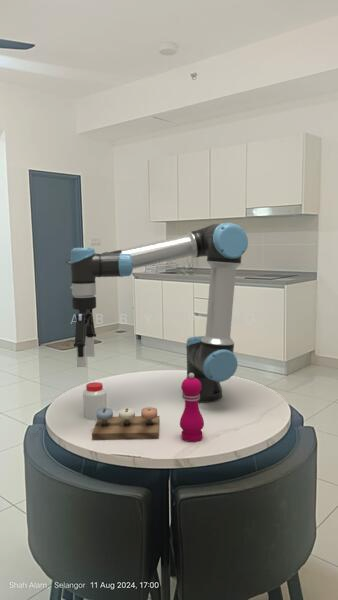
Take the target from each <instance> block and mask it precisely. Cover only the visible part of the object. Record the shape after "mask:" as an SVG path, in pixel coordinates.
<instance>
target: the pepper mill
mask: <svg viewBox="0 0 338 600" xmlns="http://www.w3.org/2000/svg"><path fill="white" fill-rule="evenodd" d="M188 377H189V378H187V377H186V378H184V380H183V381H182V382H181V391H182V397H183V396H184V397H183V398H182V399H183V400H184V409H183V412H182V414H181V417H180V420H179V427H180V429H182V431H181V439H182V440H183V441H186V442H193V443H194V442H198V441H201V440H202V439H203V431H202V429H203V428H205V427H204V426H205V423H204V417H203V415H202V413H201V411H200V409H199V407H200V406H199V402H198V401H199V399H200V394H199V392H200V391H201V388H202V385H201V382H200V381H199V380H198V379H196V378H194V374H193V373H189V375H188ZM183 392H184V394H183Z"/></svg>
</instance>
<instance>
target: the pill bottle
mask: <svg viewBox="0 0 338 600" xmlns="http://www.w3.org/2000/svg"><path fill="white" fill-rule="evenodd" d="M85 387H86V388H85V390H84V391H83V392H82V401H83V418H84V419H86V420H90V421H97V415H96V411H97V410H98V409H102V408H108V406H107V391H106V389H105V388H103V387H104V386H103V383H101V382H95V381H94V382H90V383H87V384H86V386H85Z"/></svg>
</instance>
